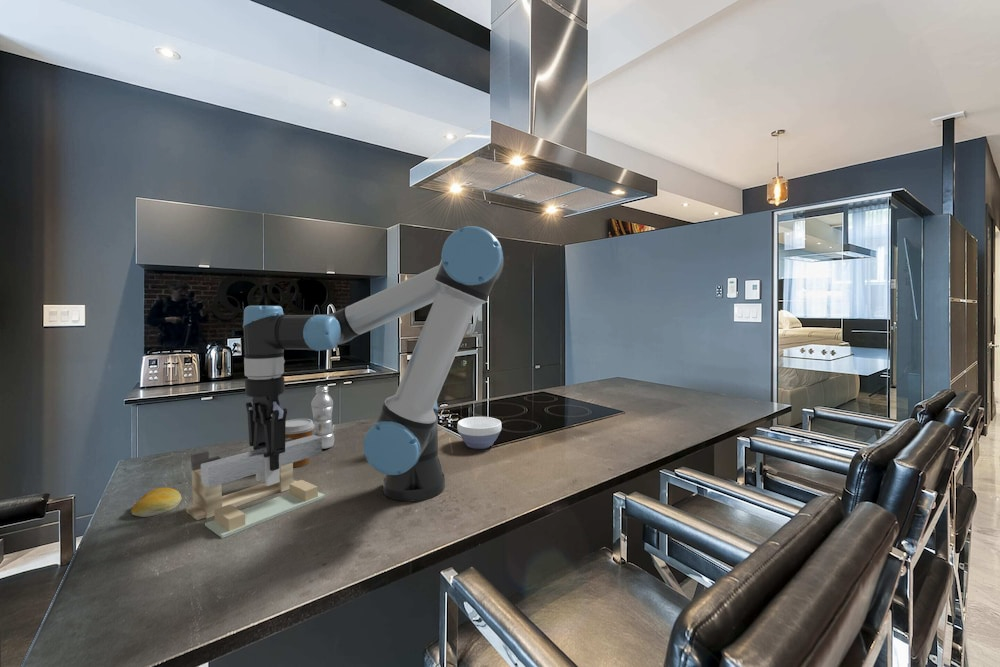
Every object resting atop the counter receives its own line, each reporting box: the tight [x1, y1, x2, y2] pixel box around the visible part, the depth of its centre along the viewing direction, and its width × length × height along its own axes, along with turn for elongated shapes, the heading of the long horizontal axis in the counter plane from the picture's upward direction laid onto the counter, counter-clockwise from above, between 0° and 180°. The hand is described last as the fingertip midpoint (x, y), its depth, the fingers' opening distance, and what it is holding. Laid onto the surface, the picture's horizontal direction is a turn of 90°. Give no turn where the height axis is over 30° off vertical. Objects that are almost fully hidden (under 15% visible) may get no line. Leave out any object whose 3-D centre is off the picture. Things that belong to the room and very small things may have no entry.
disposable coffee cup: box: [285, 418, 314, 468], centre depth 122 cm, size 10×10×12 cm
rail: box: [201, 434, 323, 488], centre depth 94 cm, size 4×24×4 cm, turn 145°
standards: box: [186, 438, 297, 521], centre depth 100 cm, size 7×22×12 cm, turn 145°
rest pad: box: [205, 479, 326, 539], centre depth 94 cm, size 8×22×3 cm, turn 145°
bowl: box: [456, 416, 502, 450], centre depth 139 cm, size 14×14×8 cm
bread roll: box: [131, 487, 183, 518], centre depth 95 cm, size 8×9×4 cm
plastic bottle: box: [310, 384, 335, 450], centre depth 135 cm, size 6×7×20 cm
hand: (267, 481), depth 94 cm, fingers closed on rail, 3 cm apart
